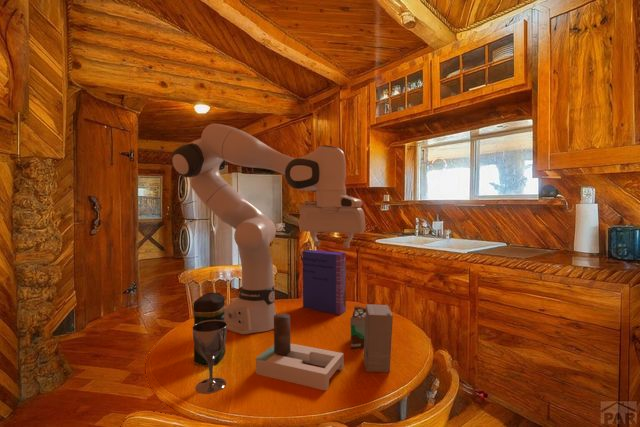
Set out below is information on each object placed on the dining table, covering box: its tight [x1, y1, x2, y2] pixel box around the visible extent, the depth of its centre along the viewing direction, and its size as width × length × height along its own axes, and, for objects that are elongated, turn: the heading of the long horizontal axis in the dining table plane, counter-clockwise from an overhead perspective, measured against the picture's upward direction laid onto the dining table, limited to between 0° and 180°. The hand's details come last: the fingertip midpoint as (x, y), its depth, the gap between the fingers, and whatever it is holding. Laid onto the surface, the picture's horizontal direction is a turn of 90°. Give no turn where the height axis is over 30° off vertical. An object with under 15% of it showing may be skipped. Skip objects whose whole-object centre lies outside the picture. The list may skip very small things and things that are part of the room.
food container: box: [349, 305, 366, 350], centre depth 108 cm, size 12×6×10 cm, turn 168°
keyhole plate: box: [255, 342, 345, 392], centre depth 91 cm, size 20×12×4 cm, turn 66°
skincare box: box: [362, 303, 394, 373], centre depth 94 cm, size 8×7×16 cm
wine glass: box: [192, 320, 228, 395], centre depth 84 cm, size 8×8×15 cm
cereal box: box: [301, 249, 347, 316], centre depth 140 cm, size 17×5×24 cm, turn 60°
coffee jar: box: [192, 292, 226, 366], centre depth 98 cm, size 10×8×19 cm
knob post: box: [273, 312, 291, 357], centre depth 93 cm, size 5×5×14 cm
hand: (331, 247), depth 102 cm, fingers open, 8 cm apart
